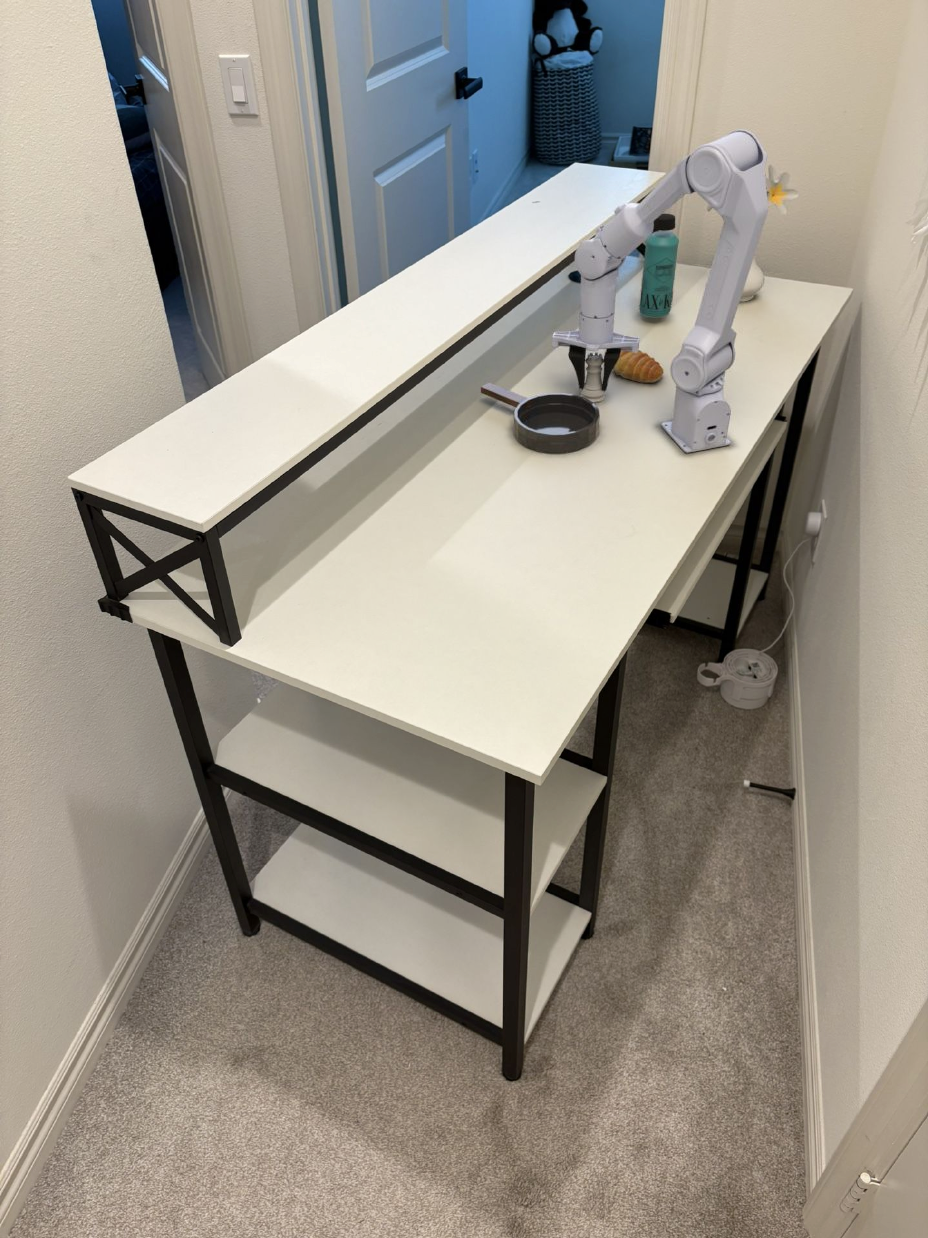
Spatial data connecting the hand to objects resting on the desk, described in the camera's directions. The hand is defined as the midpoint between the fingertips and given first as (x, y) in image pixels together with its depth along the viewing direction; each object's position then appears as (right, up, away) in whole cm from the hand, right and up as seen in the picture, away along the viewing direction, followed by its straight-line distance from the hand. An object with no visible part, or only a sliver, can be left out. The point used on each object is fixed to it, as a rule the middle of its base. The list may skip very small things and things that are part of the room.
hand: (592, 387), depth 156 cm
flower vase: (+34, +27, +31) cm, 54 cm away
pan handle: (-15, -3, -2) cm, 16 cm away
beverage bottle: (+16, +20, +25) cm, 36 cm away
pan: (-7, -9, -7) cm, 14 cm away
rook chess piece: (0, -2, +2) cm, 2 cm away
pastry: (+9, +4, +8) cm, 13 cm away
